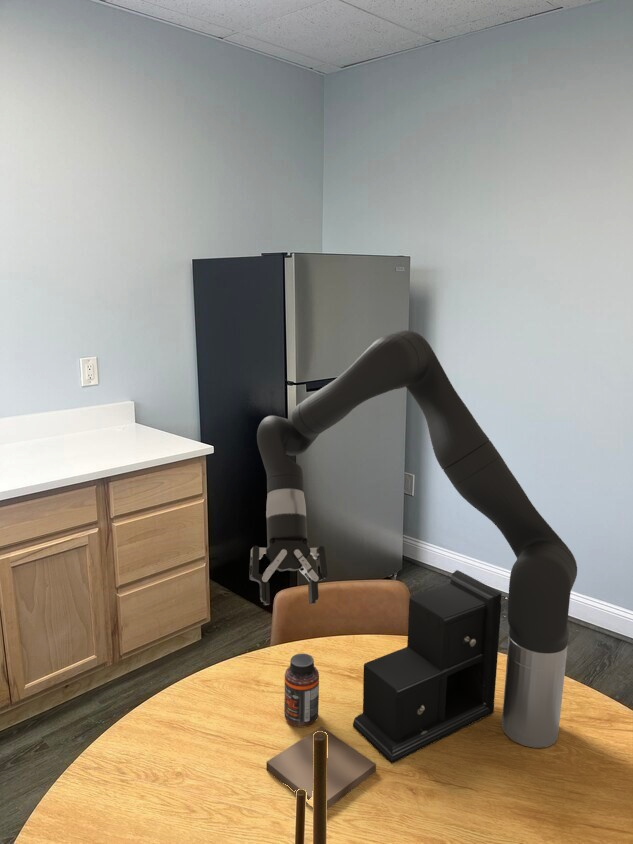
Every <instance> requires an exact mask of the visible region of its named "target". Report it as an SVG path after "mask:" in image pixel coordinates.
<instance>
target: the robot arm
mask: <svg viewBox="0 0 633 844" xmlns="http://www.w3.org/2000/svg"><path fill="white" fill-rule="evenodd" d="M404 388H406V389H407V390H408V391H409V393H410V395H411V396H412V397H413V398H414V400H415V402H416V403H417V404H418V406H419V408H420V409H421V411H422V413H423V415H424V419H425V421H426V424H427V429H428V433H429V437H430V438H429V439H430V441H431V446H432V451H433V453H434V456H435V459H436V461H437V462H438V465H439V466H440V468H441V470H442V471H443V472H444V474H445V475H446V477H447V478H448V479H449V481H450V483H451V485H453V488H454V489H455V491H457V493H458V494H459V496H461V497H462V498H463V499H464V500H465V501H466V502H467V503H468V504H469V505H471V507H473V508H475V510H477V511H479V512H480V513H481V514H482V515H483V516H485V517H486V518H487V519H488V520H489V521H491V522H492V524H494V526H495V527H496V528H497V529H498V530H499V531H500V533H501V534H502V536H503V537H504V539H505V540H506V542H507V544H508V545H509V546H510V548H511V550H512V551H513V554H514V555H515V558H516V561H514V563H513V565H512V568H511V571H510V575H509V585H508V597H507V598H508V599H507V602H508V603H507V621H508V627H509V629H508V639H507V640H508V641H507V651H506V652H507V653H506V654H507V655H506V668H505V678H504V679H505V680H504V687H503V688H504V689H503V690H504V691H503V702H502V715H501V728H502V730H503V732H504V733H505V735H506V736H507V737H508V738H509V739H510V740H512V741H513V742H515V743H517V744H519V745H522V746H524V747H529V748H534V749H541V748H547V747H551V746H552V745H554V744H555V743H557V741H558V739H559V730H560V722H561V714H562V713H561V712H562V702H563V693H564V684H565V676H566V675H565V674H566V665H567V653H568V644H569V634H570V629H569V626H568V621H569V613H570V611H569V609H570V600H571V592H572V589H573V587H574V585H575V582H576V579H577V576H578V565H577V560H576V558H575V556H574V554H573V552H572V551H571V549H570V548H569V547H568V545H567V544H566V543H565V542H564V541H563V540H562V538H561V537H560V536H559V535H558V534H557V533H556V531H555V530H554V529H553V528H552V526H551V525H550V524H549V523H548V522H547V520H546V519H544V517H543V516H542V515H541V513H540V512H539V511H538V510H537V508H536V507H535V506H534V504H533V503H532V501H531V500H530V498H529V496H527V493H526V492H525V491H524V489H523V487H522V486H521V484H520V483H519V481H518V479H516V477H515V475H514V474H513V472H512V471H511V470H510V468H509V466H508V465H507V463H506V461H505V460H504V458H503V457H502V455H501V454H500V452H499V451H498V450H497V448H496V446H494V444H493V442H492V441H491V440H490V438H489V437H488V435H487V434H486V432H484V430H483V428H482V427H481V426H480V425H479V423H478V422H477V420H476V419H475V417H474V415H473V414H472V413H471V411H470V410H469V408H468V407H467V406H466V404H465V403H464V401H463V399H461V397H460V396H459V394H458V393H457V391H456V390H455V388H454V386H453V384H452V383H451V380H450V379H449V377H448V375H447V373H446V371H445V370H444V367H443V366H442V364H441V363H440V361H439V358H438V357H437V355H436V353H435V352H434V350H433V348H432V346H431V345H430V343H429V342H428V341H427V339H425V338H424V336H422V335H421V334H420V333H418V332H416V331H413V330H407V329H406V330H401V331H400V330H399V331H395V332H394V333H390V334H387V335H384V336H381V337H379V338H378V339H376V340H375V341H373V343H372V344H370V346H368V347H367V349H366V350H365V351H364V352H362V354H361V355H359V357H358V358H357V359H356V360H355V361H354V362H353V363H352V364H351V365H350V366H349V367H348V368H347V369H346V370H345V371H344V372H342V373H341V374H340V375H338V376H337V377H336V378H335V379H333V380H332V381H330V382H329V383H327V385H324V386H323V387H322V388H320V389H318V390H316V391H315V392H314V393H312V394H311V395H309V396H307V398H305V399H304V400H302V401H301V402H300V403H298V404H297V405H296V406H295V407H294V408H293V410H292V412H291V419H289V418H285V417H282V416H277V415H268V416H266V417H264V418H263V419H262V420H261V422H260V423H259V425H258V428H257V431H256V432H257V433H256V443H257V447H258V451H259V453H260V456H261V460H262V463H263V466H264V470H265V473H266V491H267V493H266V494H267V495H266V496H267V498H266V511H265V513H266V514H265V517H266V538H267V539H266V540H267V543H266V544H267V545H266V547H260V546H258V545H254V546H253V547H252V548H251V549H250V552H249V553H250V554H249V555H250V557H249V577H248V579H249V580H250V581H252V582H253V581H254V582H257V583H258V584H259V599H260V602H261V603H263V606H269V605H270V604H271V598H270V597H271V596H270V595H271V594H270V593H271V592H270V591H271V590H270V582H269V579H270V578H271V577H272V575H273V574H274V573H275V571H278V572H285V571H290V572H296V571H299V572H300V573H301V574H302V575H303V576H304V577H305V578H306V580H307V581H308V582H309V583H308V584H307V590H308V605H315V604H317V603H316V601H318V600H319V596H320V595H319V582H320V581H323V580H325V579H327V578H328V575H329V574H328V567H327V557H326V549H325V547H324V546H323V545H319V546H318V547H310V545H309V543H308V527H307V526H308V525H307V524H308V523H307V508H306V507H307V506H306V499H305V494H304V493H305V490H304V473H303V468H302V466H301V465H300V464H298V463H296V462H295V461H293V460H292V459H290V457H289V456H298V455H302V454H304V453H305V452H306V451H307V450H308V449H309V448H310V446H312V444H313V443H314V441H315V440H316V439H317V438H318V437H319V435H320V434H322V433H324V432H325V431H326V430H328V429H330V428H331V427H333V426H335V425H336V424H338V423H339V422H340V421H341V420H343V419H344V418H346V417H347V416H348V415H349V414H350V413H351V412H352V411H353V410H354V409H356V408H357V407H358V406H359V405H361V404H363V403H364V402H366V401H368V400H370V399H372V398H375V397H377V396H380V395H384V394H385V393H388V392H391V391H393V390H401V389H404ZM264 554H265V556H266V557H267V559H268V560H269V562H270V564H269V565H268V567H267V568H266V569H265V571H264V572H263V574H261V573H259V572H260V571H259V570H260V560H261V559H262V558H263V557H264ZM310 555H311V556H312V559H314V560H315V564H316V571H314V569H313V567H312V566H311V564H310V563H309V561H308V558H309V556H310ZM316 572H317V573H316Z"/></svg>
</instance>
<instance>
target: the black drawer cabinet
mask: <svg viewBox="0 0 633 844" xmlns="http://www.w3.org/2000/svg"><path fill="white" fill-rule="evenodd" d="M450 576H451V577H450V583H447V584H444V585H441V586H438V587H435V588H432V589H428V590H426V591H423V592H420V593H418V594H414V595H411V596H409V601H408V603H409V604H408V618H407V619H408V620H407V621H408V622H407V624H408V625H407V642H406V643H407V646H406V647H403V648H400V649H398V650H395V651H392V652H390V653H387V654H385V655H383V656H380V657H378V658H375V659H373V660H369V661H368V662H365V663H364V664H363V681H362V683H363V684H362V685H363V689H362V696H363V697H362V700H363V701H362V713H360V714H359V715H357V716H355V717H354V720H353V723H352V727H353V729H355V730H356V732H357V733H359V734H360V736H362V737H363V738H364V739H365V740H366V741H367V742H368V743H369V744H370V745H371V746H372V747H373V748H374V749H375V750H376V751H377V752H378V753H379V754H381V755H382V756H383V758H385V760H387V761H388V762H389V763H390V764H391V765H392V764H394V763H397V762H398V761H400V760H402V759H404V758H406V757H409V756H410V755H412V754H414V753H416V752H418V751H420V750H422V749H424V748H426V747H428V746H431V745H433V744H434V743H436V742H438V741H441V740H442V739H444V738H447V737H449V736H451V735H452V734H454V733H457V732H458V731H461V730H463V729H464V728H466V727H469V726H471V725H473V724H474V723H476V722H479V721H481V720H482V719H484V718H487V717H488V716H490V715H492V714H494V712H495V711H494V710H495V698H496V697H495V696H496V693H495V692H496V680H497V669H498V668H497V667H498V658H499V657H498V654H499V639H500V629H501V628H500V626H501V613H502V595H503V594H502V592H500V591H498V590H497V589H495V588H492V587H491V586H489V585H487V584H486V583H483V582H481V581H479V580H478V579H476V578H474V577H472V576H470V575H468V574H466V573H465V572H462V571H460V570H459V569H456V570H454V571H453V572H452V573H451V575H450Z"/></svg>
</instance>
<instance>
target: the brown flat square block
mask: <svg viewBox="0 0 633 844" xmlns="http://www.w3.org/2000/svg"><path fill="white" fill-rule="evenodd" d="M317 731H323V732H326V733H327V735H328V758H327V810H329V809H330V808H331V807H333V806H334V805H335V804H337V803H339V801H340V800H342V799H343V798H344V797H346V796H347V795H348V794H349V793H351V792H352V791H353V790H355V789H356V788H357V787H359V786H360V785H361V784H363V783H364V782H365V781H366V780H369V778H370V777H372V776H373V775H375V773H376V771H377V763H375V762H374V761H372V760H371V759H370V758H368V757H367V756H366V755H364V754H362V752H359V750H357V749H355V748H354V747H352V746H351V745H349V744H348V743H346V742H345V741H343V740H342V739H341V738H339V737H338V736H336V735H335V734H333V733H332V732H330V731H329V730H327V729H326V728H325V727H323V726H320V727H319V728H317V729H315V730H314V731H312V732H311V733H309V734H307V735H305V737H303V738H301V739H300V740H298V741H297V742H294V744H292V745H290V746H289V747H288V748H285V749H284V750H283V751H280V753H278V754H276V755H275V756H273V757H271V758H270V759H268V760H266V768H265V769H266V771H267V772H268V771H269V774H270V775H272V776H273V777H274V776H275V777H274V778H276V779H277V780H278V781H279V782H280V781H281V783H282V784H283V783H284V784H286V785H288V786H289V787H290V788H291V789H292V790H293V791H295V790H296V791H297V790H298V789H304V790H306V792H307V799H308V800H309V799H310V798H311V797H312V791H313V734H314V733H315V732H317ZM284 784H283V785H284ZM293 791H292V792H293ZM296 791H295V793H294V795H296Z"/></svg>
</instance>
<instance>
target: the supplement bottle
mask: <svg viewBox="0 0 633 844" xmlns="http://www.w3.org/2000/svg"><path fill="white" fill-rule="evenodd" d="M289 663H290V664H289V666H288V667H287V668H286V670H285V671H284V672H285V673H284V706H283V707H284V709H283V710H284V711H283V712H284V718H285V720H286V722H287V723H288V724H290V726H293V727H297V728H298V727H299V728H304V727H309V726H311V725H313V724H315V723H316V721H318V718H319V703H320V702H319V700H320V699H319V698H320V696H319V695H320V694H319V693H320V692H319V691H320V672H319V671H318V669H317V668H316V666H315V664H314V663H315V660H314V657H313V656H312V655H311V654H307V653H302V652H301V653H296V654H294V655H292V657H290V662H289Z"/></svg>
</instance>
